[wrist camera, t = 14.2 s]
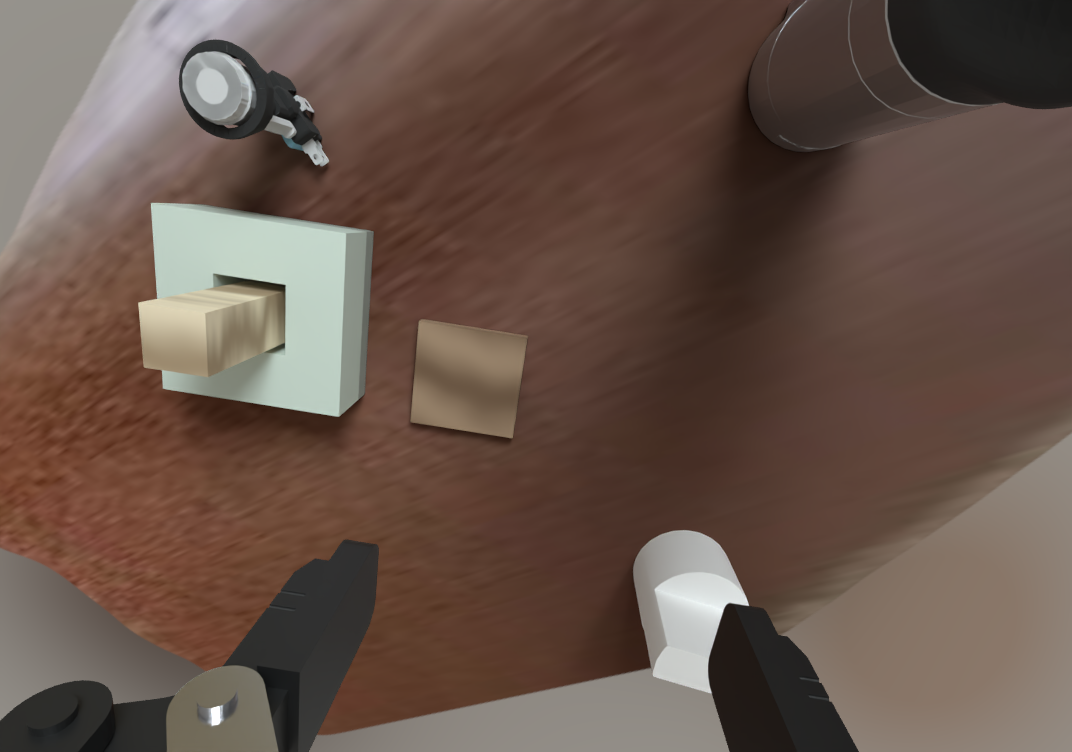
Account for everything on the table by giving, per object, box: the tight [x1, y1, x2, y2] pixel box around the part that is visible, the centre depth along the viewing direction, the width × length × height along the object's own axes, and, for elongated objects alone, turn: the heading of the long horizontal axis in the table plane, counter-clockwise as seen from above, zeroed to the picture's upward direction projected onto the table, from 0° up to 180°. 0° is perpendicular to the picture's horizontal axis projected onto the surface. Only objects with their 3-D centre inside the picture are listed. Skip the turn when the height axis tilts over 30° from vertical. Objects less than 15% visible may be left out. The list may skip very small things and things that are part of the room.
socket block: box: [151, 203, 374, 417], centre depth 42 cm, size 14×14×6 cm
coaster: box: [410, 319, 528, 438], centre depth 45 cm, size 9×9×1 cm
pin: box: [139, 280, 286, 377], centre depth 37 cm, size 4×4×12 cm
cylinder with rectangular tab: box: [633, 530, 749, 694], centre depth 44 cm, size 9×9×12 cm
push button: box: [179, 40, 329, 166], centre depth 36 cm, size 7×5×10 cm
